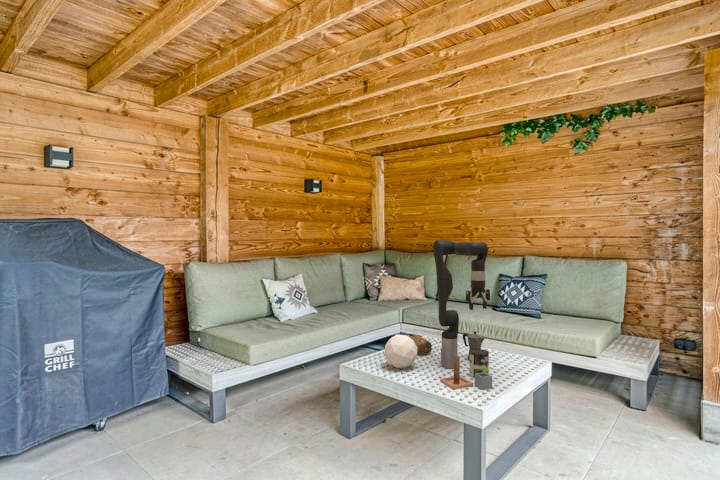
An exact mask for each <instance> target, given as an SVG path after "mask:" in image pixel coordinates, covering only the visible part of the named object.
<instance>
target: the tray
mask: <svg viewBox="0 0 720 480" xmlns="http://www.w3.org/2000/svg"><path fill="white" fill-rule="evenodd" d="M439 382H440V383H441V384H443V385H445V386H446V387H448V388H449V389H452V390H458V389H465V388H470V387H474V382H472V381H470V380H468V379H466V378H465V377H463V376H461V375H460V384H458V385H457V384H454V375H453V376H448V377H443V378H441V377H440V378H439Z"/></svg>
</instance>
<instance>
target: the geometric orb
mask: <svg viewBox="0 0 720 480" xmlns="http://www.w3.org/2000/svg"><path fill="white" fill-rule="evenodd" d="M408 336H409V335H407V334H406V335H405V334H395V335H394V336H392V337H390V338H389V339H388V341H387V342H386V343H385V346H384V357H385V358H386V361H387V362H388V364H390V365H391V366H392V367H394V368H397V369H404V370H406V369H407V368H408V367H410V366H412V365H413V364H415V361H416V360H417V358H418V355H417V349H418V348H417V346H416V344H415V343H414V341H413V340H412V339H411V338H410V337H408Z"/></svg>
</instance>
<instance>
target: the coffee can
mask: <svg viewBox="0 0 720 480" xmlns="http://www.w3.org/2000/svg"><path fill="white" fill-rule="evenodd" d="M469 352H470V361H469V376H470V377H472V378H474V379H475V374H477V373H483V372H485V373H487V374H489V369H490V367H489V359H490V357H489V356H490V351H488V350H486V349H484V348H483V349H482V348H481V349H471V350H470V351H469V350H468V353H469ZM489 375H490V374H489Z"/></svg>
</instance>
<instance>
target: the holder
mask: <svg viewBox="0 0 720 480" xmlns="http://www.w3.org/2000/svg"><path fill="white" fill-rule="evenodd" d="M474 386H475V387H476V388H477V389H480V390H481V391H485V390H489V389H493V376H492V375H491V374H487V373H485V372H483V373H477V374H475V378H474Z"/></svg>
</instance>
